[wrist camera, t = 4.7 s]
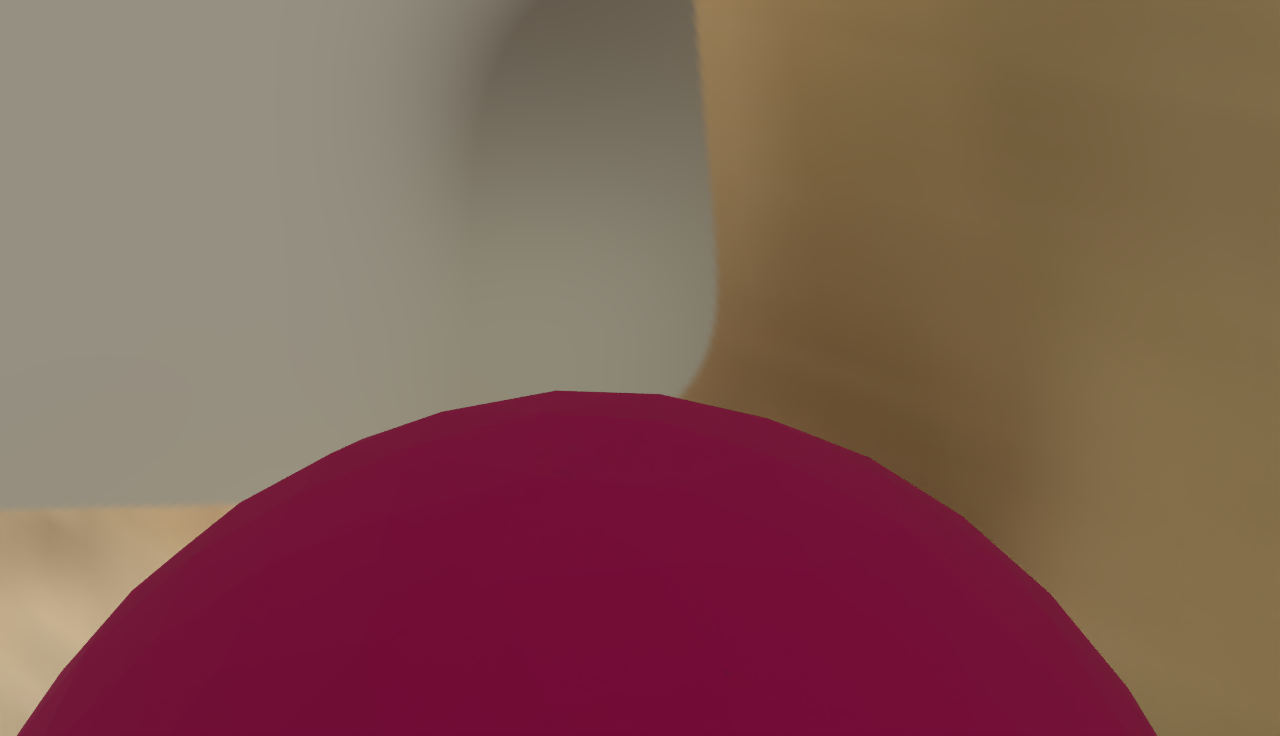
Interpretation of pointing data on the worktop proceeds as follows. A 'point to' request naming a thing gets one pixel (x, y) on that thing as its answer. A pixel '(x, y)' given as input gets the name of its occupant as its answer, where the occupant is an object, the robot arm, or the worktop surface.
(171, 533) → the worktop surface
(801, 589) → the pepper mill
